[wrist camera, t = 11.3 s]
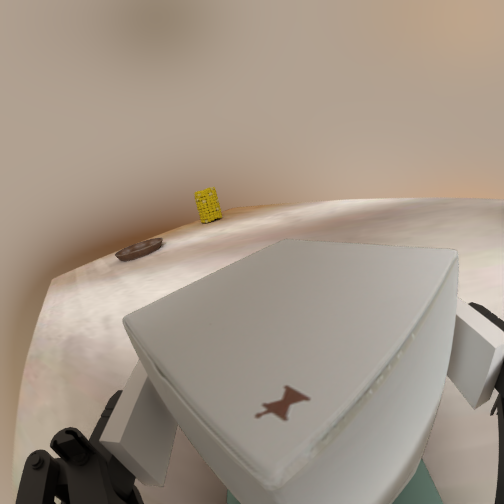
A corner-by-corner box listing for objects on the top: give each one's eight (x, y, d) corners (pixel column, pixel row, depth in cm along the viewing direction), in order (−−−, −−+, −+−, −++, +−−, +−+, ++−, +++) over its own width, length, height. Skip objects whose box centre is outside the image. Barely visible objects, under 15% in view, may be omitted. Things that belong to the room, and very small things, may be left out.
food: (201, 229, 115) (207, 225, 125) (226, 216, 113) (230, 213, 123) (184, 196, 113) (192, 195, 122) (208, 182, 110) (214, 182, 120)
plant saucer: (162, 242, 102) (160, 234, 101) (167, 250, 86) (164, 240, 85) (119, 257, 96) (116, 250, 96) (115, 268, 80) (112, 259, 79)
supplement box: (419, 470, 9) (469, 244, 6) (322, 571, 5) (256, 504, 2) (323, 424, 15) (286, 233, 12) (231, 494, 11) (113, 312, 8)
